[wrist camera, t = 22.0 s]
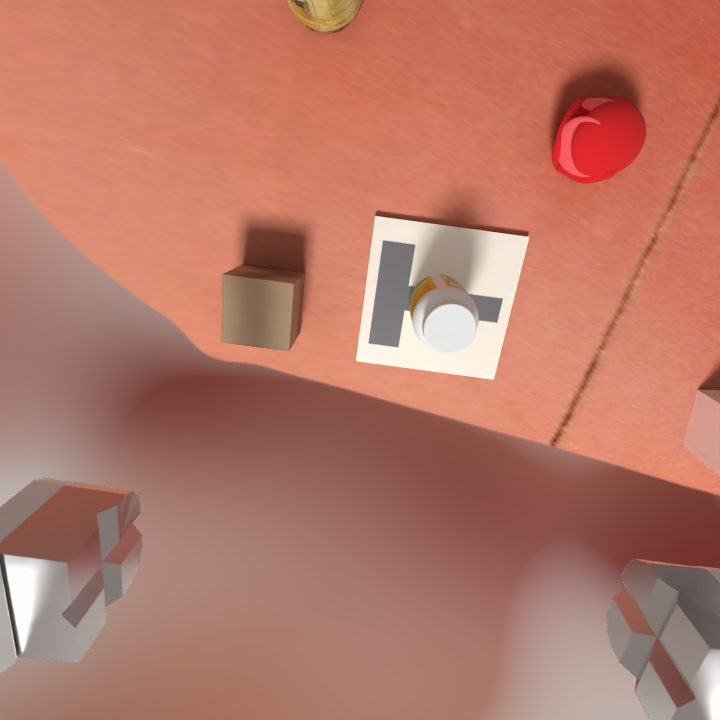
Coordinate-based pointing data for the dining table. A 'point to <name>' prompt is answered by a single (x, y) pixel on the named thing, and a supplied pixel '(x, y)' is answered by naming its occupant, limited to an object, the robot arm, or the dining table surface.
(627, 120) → the red rounded lump
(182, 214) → the dining table surface
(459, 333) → the supplement bottle
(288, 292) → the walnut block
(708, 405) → the soap dispenser
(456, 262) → the letter tile
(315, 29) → the sauce bottle
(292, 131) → the dining table surface
